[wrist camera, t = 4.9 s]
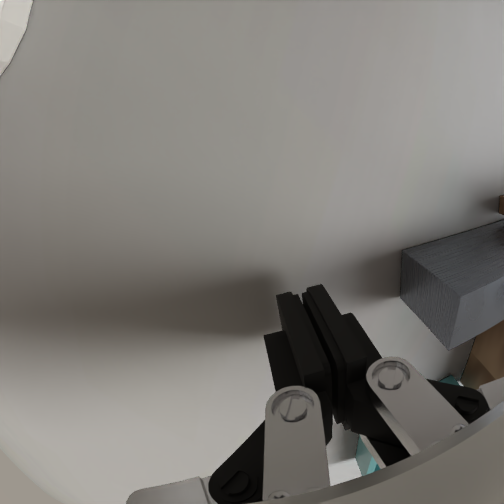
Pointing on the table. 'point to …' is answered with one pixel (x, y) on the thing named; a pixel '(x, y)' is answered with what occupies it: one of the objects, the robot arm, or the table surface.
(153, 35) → the table surface
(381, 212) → the table surface
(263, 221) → the table surface
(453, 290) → the bar
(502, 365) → the socket block
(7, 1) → the white cup
